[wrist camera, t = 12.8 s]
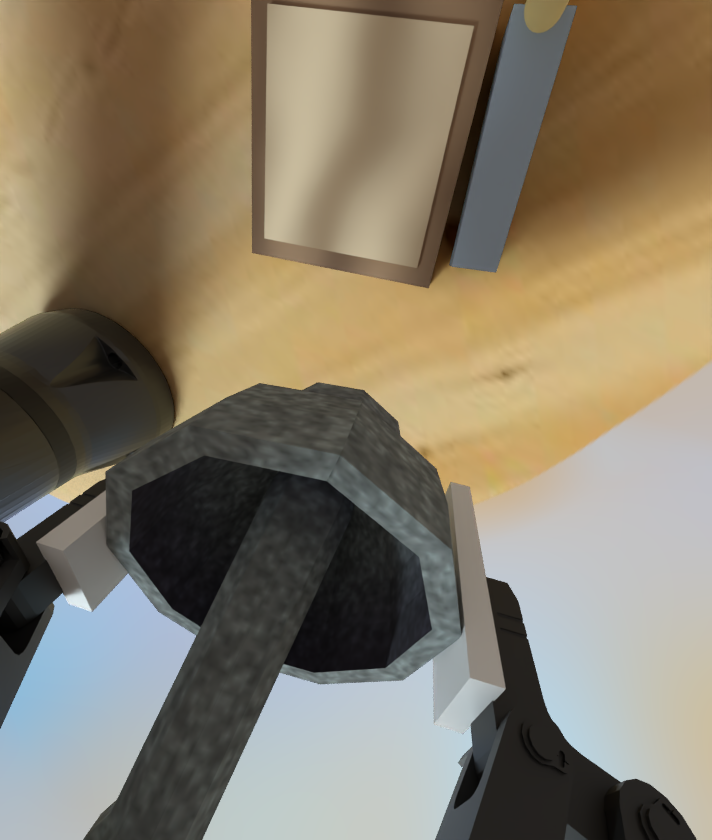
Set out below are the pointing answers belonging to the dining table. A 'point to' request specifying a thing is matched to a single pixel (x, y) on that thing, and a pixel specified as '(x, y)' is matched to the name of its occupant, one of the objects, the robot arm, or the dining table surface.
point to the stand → (362, 128)
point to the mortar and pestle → (272, 575)
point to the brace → (510, 128)
